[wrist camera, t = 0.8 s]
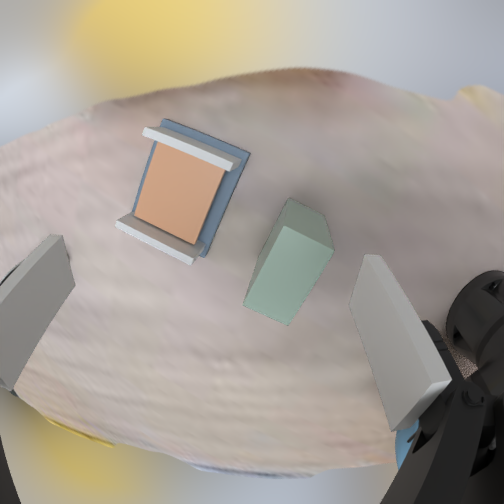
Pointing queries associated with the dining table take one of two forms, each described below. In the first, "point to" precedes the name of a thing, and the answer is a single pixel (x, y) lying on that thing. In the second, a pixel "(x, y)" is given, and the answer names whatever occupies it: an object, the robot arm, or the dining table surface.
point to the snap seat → (178, 192)
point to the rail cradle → (234, 165)
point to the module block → (289, 263)
